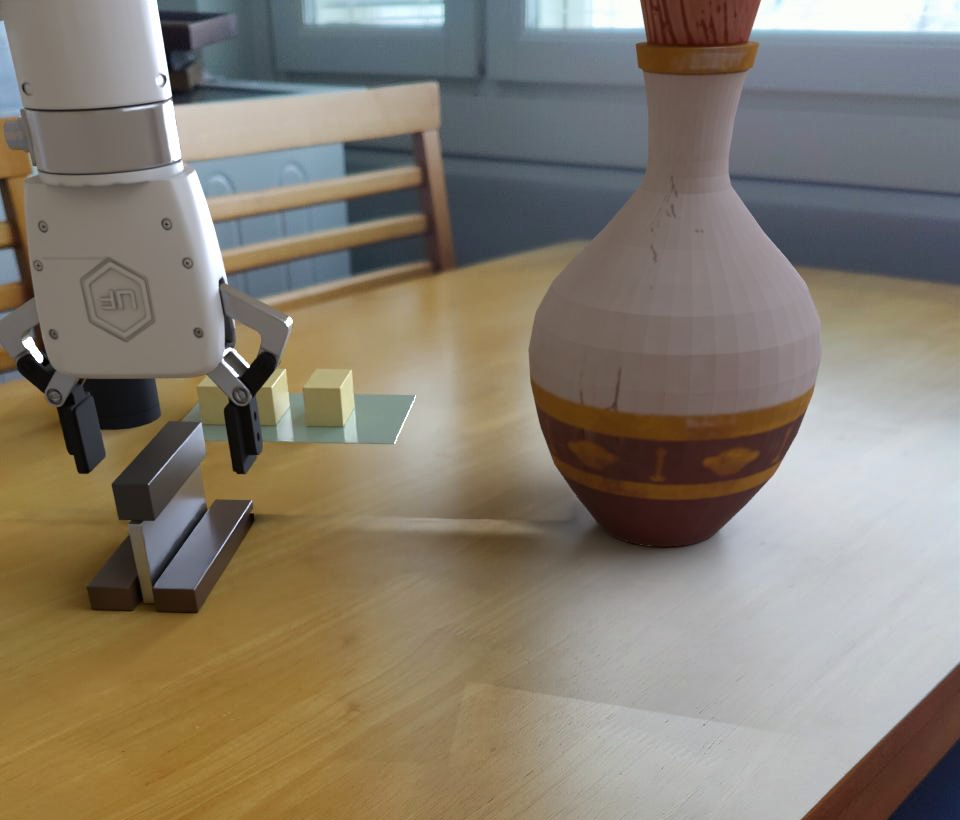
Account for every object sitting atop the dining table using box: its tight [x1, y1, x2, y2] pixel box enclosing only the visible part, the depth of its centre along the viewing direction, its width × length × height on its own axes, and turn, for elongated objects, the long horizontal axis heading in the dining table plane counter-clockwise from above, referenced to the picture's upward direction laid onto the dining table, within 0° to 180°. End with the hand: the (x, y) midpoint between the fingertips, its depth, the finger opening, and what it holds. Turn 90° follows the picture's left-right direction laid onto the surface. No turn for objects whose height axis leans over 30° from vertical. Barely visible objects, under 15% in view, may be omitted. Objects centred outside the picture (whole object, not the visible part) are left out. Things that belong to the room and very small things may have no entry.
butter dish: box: [181, 392, 417, 445], centre depth 98 cm, size 18×12×1 cm, turn 84°
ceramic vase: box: [527, 0, 822, 547], centre depth 73 cm, size 20×18×30 cm
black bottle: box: [83, 378, 162, 431], centre depth 89 cm, size 6×6×30 cm
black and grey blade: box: [111, 420, 208, 605], centre depth 75 cm, size 12×2×7 cm, turn 174°
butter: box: [196, 368, 290, 426], centre depth 97 cm, size 6×5×3 cm
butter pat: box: [302, 368, 355, 427], centre depth 96 cm, size 3×5×3 cm, turn 174°
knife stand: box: [86, 498, 256, 613], centre depth 77 cm, size 7×14×2 cm, turn 174°
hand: (168, 466), depth 74 cm, fingers open, 9 cm apart
